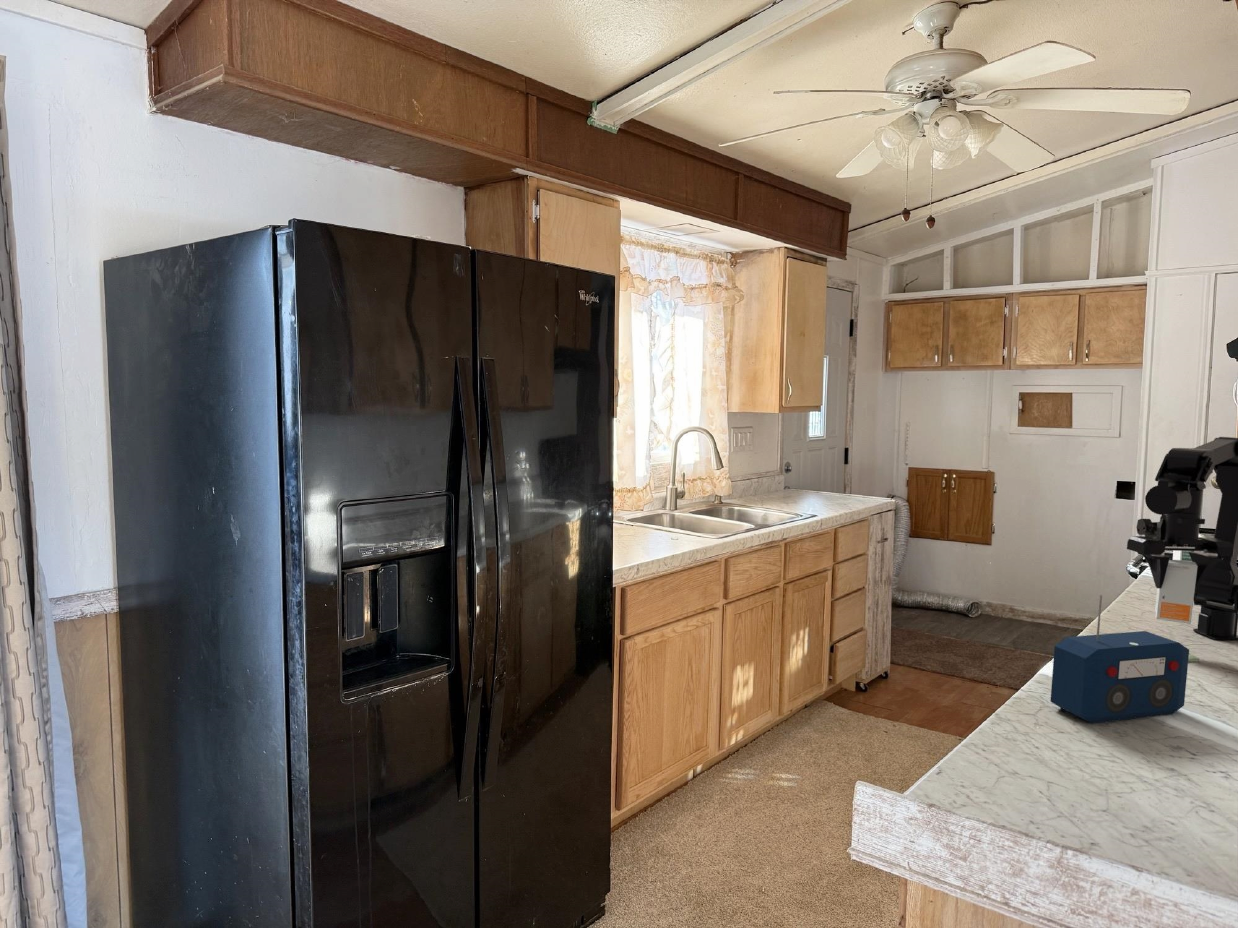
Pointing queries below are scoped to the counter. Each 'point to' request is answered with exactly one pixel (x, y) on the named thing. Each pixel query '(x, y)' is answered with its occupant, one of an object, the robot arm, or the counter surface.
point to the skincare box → (1177, 592)
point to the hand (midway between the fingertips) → (1175, 588)
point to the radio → (1119, 675)
